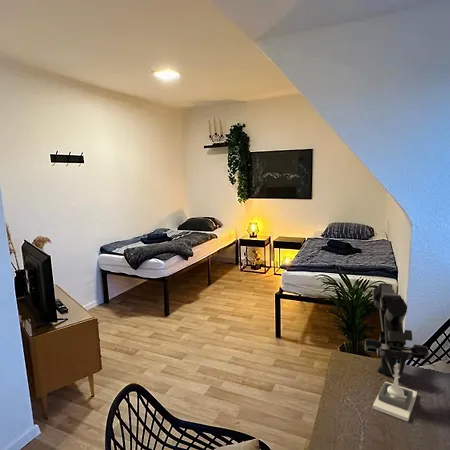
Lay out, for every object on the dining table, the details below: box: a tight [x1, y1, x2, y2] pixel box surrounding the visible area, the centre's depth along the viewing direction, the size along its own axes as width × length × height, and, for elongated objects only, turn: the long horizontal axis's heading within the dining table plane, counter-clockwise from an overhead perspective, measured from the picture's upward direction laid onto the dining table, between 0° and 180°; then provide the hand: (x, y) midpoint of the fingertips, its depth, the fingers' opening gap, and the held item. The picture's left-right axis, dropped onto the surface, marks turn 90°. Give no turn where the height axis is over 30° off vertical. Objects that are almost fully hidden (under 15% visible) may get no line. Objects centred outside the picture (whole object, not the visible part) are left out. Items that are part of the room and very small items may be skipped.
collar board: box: [372, 381, 418, 422], centre depth 107 cm, size 16×10×3 cm, turn 141°
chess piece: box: [387, 362, 404, 397], centre depth 107 cm, size 5×5×10 cm
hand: (396, 375), depth 105 cm, fingers closed on chess piece
